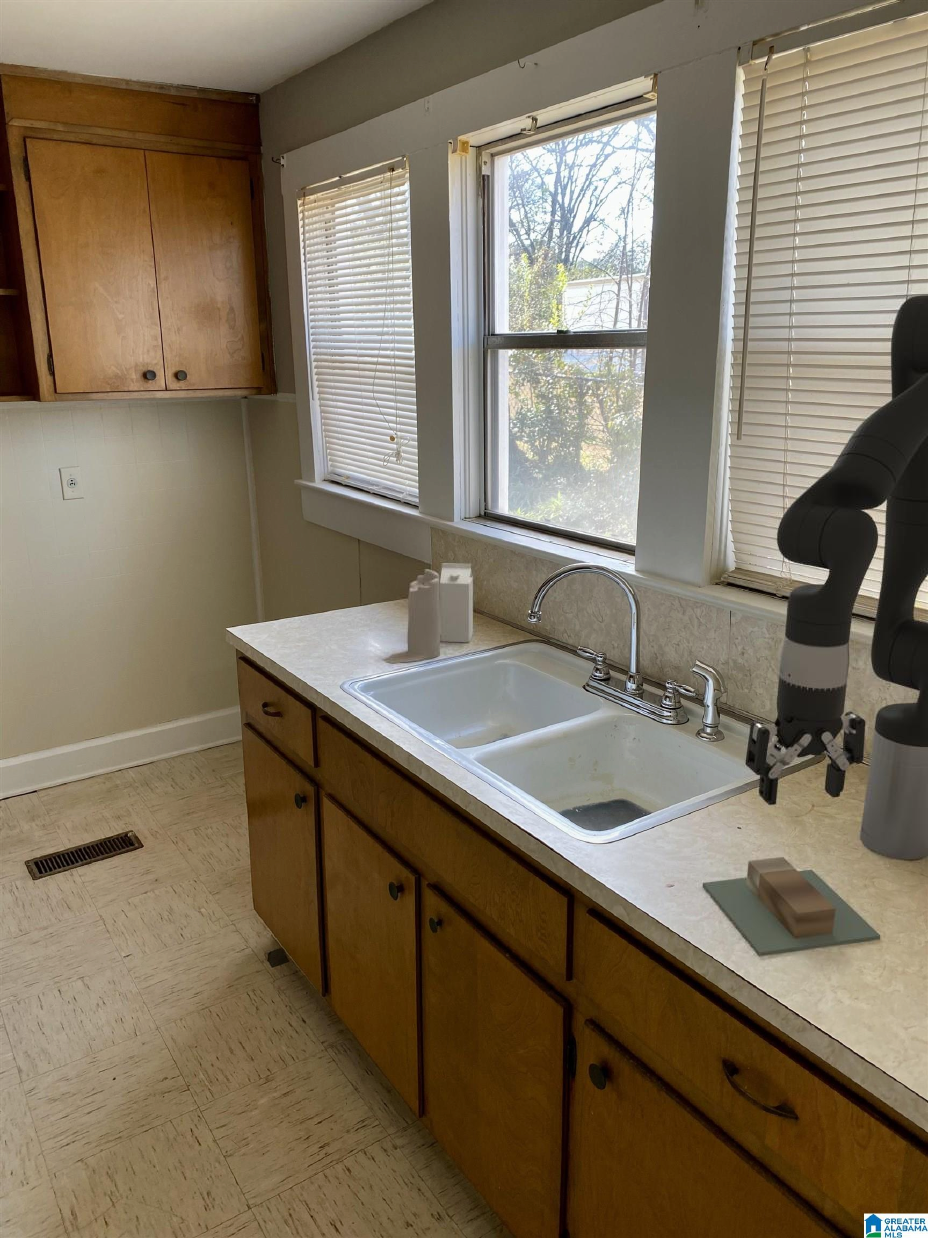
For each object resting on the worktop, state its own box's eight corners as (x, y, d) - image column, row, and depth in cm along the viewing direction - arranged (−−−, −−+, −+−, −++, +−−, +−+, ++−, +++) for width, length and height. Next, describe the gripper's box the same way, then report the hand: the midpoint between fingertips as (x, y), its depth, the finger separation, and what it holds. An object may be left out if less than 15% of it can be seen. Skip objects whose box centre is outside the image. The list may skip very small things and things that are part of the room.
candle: (378, 657, 214) (376, 574, 208) (430, 647, 220) (429, 566, 215) (392, 666, 208) (390, 580, 202) (445, 656, 214) (444, 573, 209)
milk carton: (445, 633, 232) (444, 560, 226) (472, 634, 231) (472, 560, 225) (440, 642, 225) (439, 566, 220) (469, 643, 224) (469, 567, 219)
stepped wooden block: (832, 933, 111) (835, 908, 110) (794, 938, 110) (797, 913, 109) (780, 880, 123) (783, 857, 122) (746, 884, 122) (748, 861, 121)
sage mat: (811, 872, 125) (811, 869, 125) (880, 939, 111) (880, 935, 111) (702, 886, 122) (702, 883, 122) (759, 956, 108) (759, 952, 108)
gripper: (774, 691, 103) (762, 820, 107) (887, 680, 105) (871, 806, 110) (741, 669, 110) (732, 790, 114) (848, 658, 112) (835, 778, 117)
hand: (800, 798), depth 112 cm, fingers open, 8 cm apart
